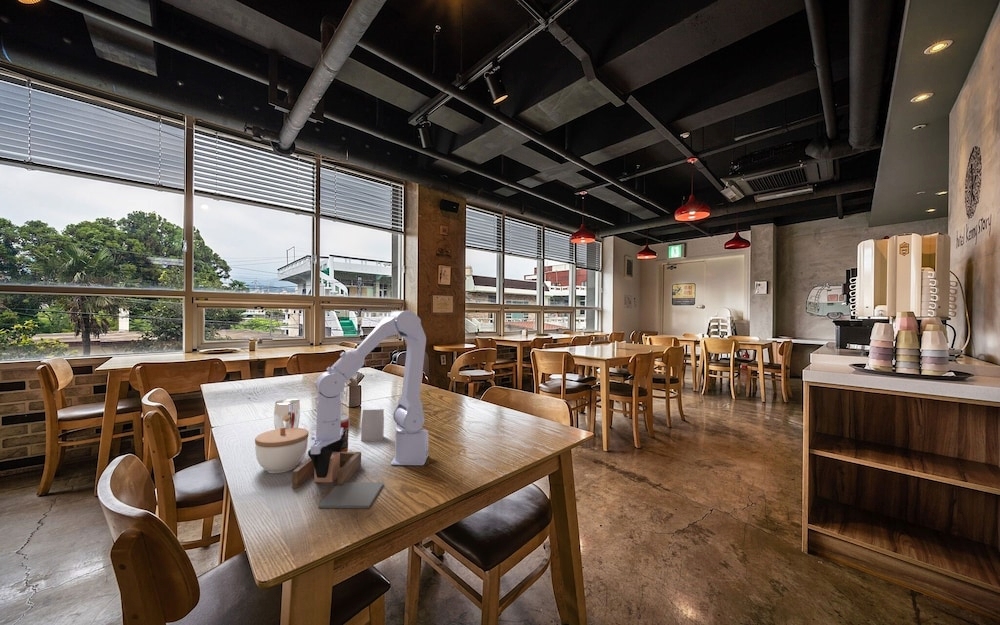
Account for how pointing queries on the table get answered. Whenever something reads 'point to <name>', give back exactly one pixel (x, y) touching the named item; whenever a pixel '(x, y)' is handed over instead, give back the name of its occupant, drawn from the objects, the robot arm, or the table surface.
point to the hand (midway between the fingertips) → (327, 471)
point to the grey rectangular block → (372, 425)
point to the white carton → (287, 413)
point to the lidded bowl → (281, 449)
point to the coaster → (352, 495)
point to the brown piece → (348, 468)
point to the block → (330, 469)
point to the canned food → (345, 431)
